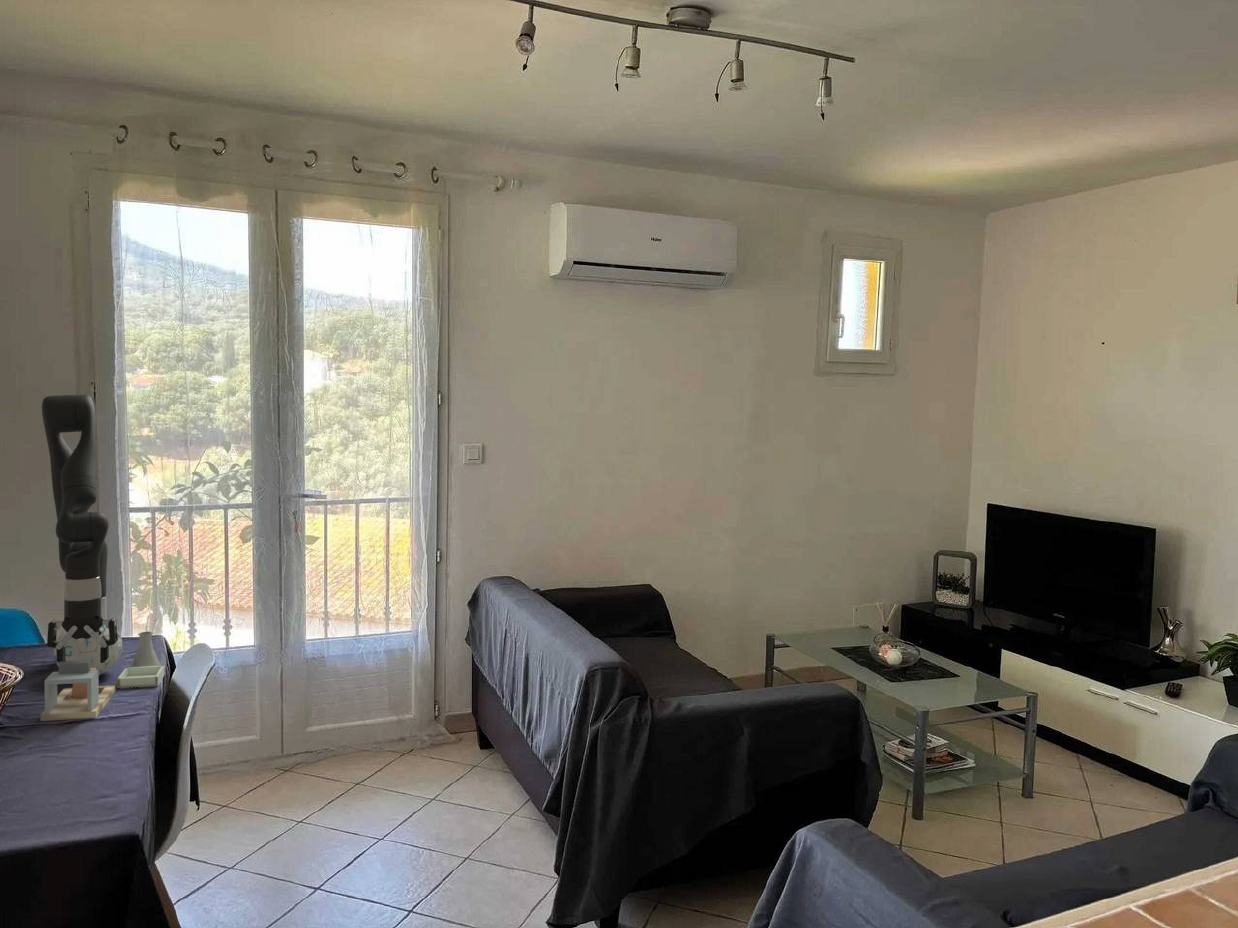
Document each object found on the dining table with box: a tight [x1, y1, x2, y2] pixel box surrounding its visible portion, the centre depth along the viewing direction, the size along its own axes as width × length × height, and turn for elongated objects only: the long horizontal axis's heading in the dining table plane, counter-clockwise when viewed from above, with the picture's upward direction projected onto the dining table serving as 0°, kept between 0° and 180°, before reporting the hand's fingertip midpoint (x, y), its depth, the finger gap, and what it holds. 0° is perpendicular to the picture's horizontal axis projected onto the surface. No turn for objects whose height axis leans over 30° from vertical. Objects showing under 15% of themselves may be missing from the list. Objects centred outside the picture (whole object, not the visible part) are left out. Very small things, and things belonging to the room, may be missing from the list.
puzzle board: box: [39, 685, 116, 722], centre depth 205 cm, size 18×11×2 cm, turn 17°
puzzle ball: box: [53, 625, 123, 677], centre depth 224 cm, size 15×15×15 cm
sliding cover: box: [43, 660, 100, 713], centre depth 199 cm, size 6×9×10 cm, turn 107°
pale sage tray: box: [116, 665, 166, 689], centre depth 222 cm, size 9×9×2 cm
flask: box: [130, 630, 162, 667], centre depth 231 cm, size 7×7×10 cm
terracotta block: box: [72, 668, 96, 699], centre depth 209 cm, size 4×4×7 cm
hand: (83, 662), depth 208 cm, fingers open, 8 cm apart
